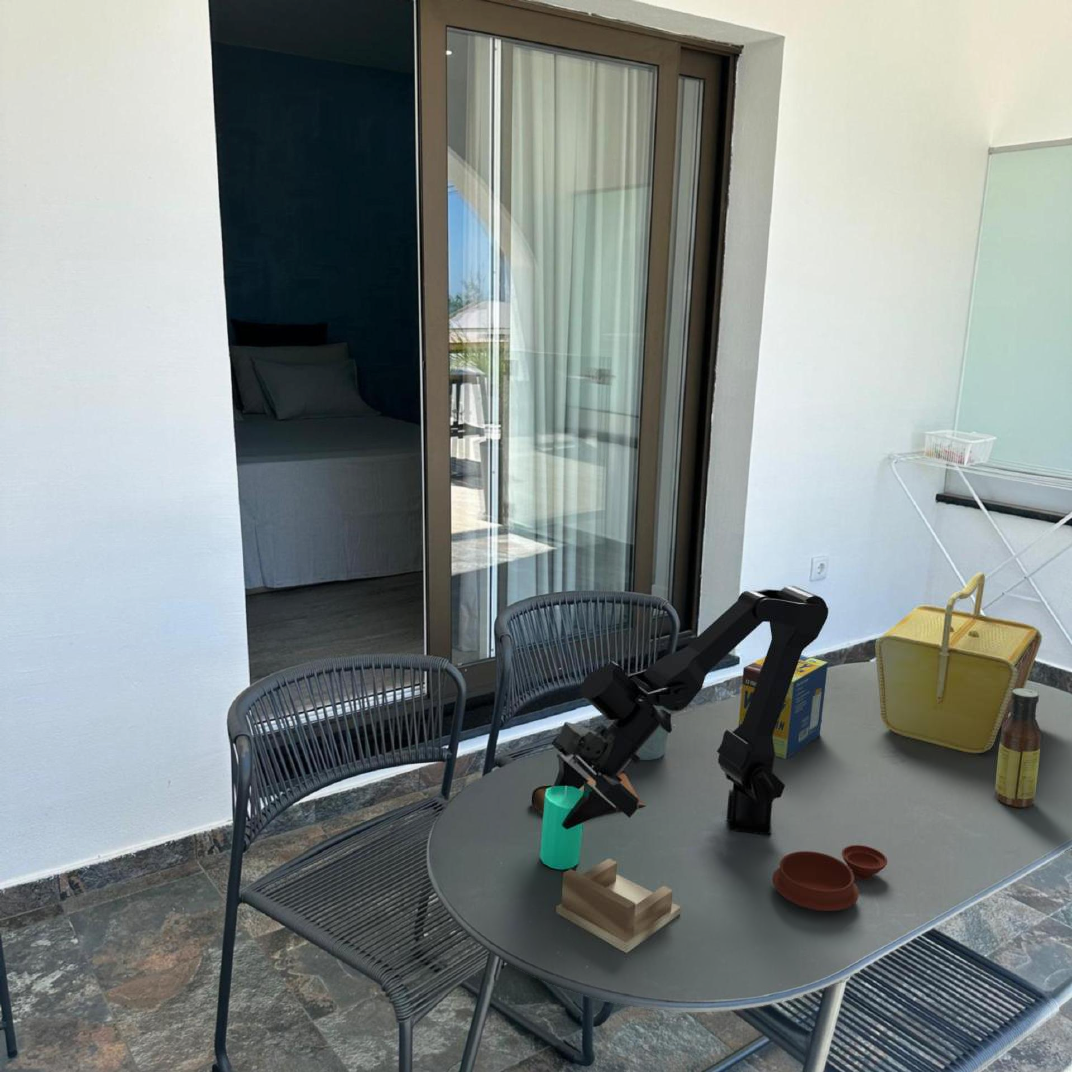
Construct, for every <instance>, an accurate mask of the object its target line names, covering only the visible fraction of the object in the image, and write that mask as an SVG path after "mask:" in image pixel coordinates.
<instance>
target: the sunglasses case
mask: <svg viewBox="0 0 1072 1072" xmlns="http://www.w3.org/2000/svg"><path fill="white" fill-rule="evenodd" d="M625 772H626V771H625V770H624V769H623V770H622V771H621V772H620V773H619V775H618V777H620V778H621V779H622V781H621V782H620V783H621V784H622V785H623V786H625V787H626V788H627V789H628V790H629V791H630V792H631V793H632V794H633V795H634V796H635V797H637V798H638V799H639V807H638V808H642V807H646V804H645V803H644V802H642V801H641V799H640V798H639V795H638V794H637V792H636V790H635V788H634V787H633V786H632V783H631V782H630V780H629V778H628V777H627V775H626V773H625ZM585 778H586V779H587V780H588V781H589V782H587V783H588V784H589V785H590V786H592V787H594V786H595V784H596V781H595V780H593V779H592V778H591V777H590V776H589V777H585ZM552 786H554V784H546V785H541V786H538V787H536V788H535V789H533V791H532V793H531V805H534V806H535V807H536V808H537V809H538V810H539V811H541V812H542V813H543V814H544V802H545V794H546V789H547V788H550V787H552ZM580 790H581V791H582V792H583V791H584V786H582V787H581V788H580ZM534 806H533V807H534ZM535 807H534V808H535ZM536 808H535V809H536ZM615 808H616V809H617V810H618V811H621V810H620V809H619V808H617V807H615ZM537 809H536V810H537ZM538 810H537V811H538ZM539 811H538V812H539ZM618 811H617V812H618ZM541 812H540V813H541ZM542 813H541V814H542ZM611 813H614V812H613V811H612V812H611ZM543 814H542V815H543Z"/></svg>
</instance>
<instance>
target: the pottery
mask: <svg viewBox="0 0 1072 1072" xmlns="http://www.w3.org/2000/svg"><path fill="white" fill-rule="evenodd" d="M841 856H842V858H843V861H844V862H843V861H841V860H840V859H838V858H837V857H834V856H832V855H829V854H825V853H822V852H817V851H805V850H804V851H803V850H801V851H800V850H799V851H794V852H791V853H788V854H786V855H785V856H783V857H782V858H781V860H780V862H779V867H778V868H777V869H776V870H775V871H774V872H773V874H772V884H773V886H774V888H775V889H776V891H777V892H778V893H779V894H780V895H781V896H782V897H784V898H785V899H786V900H788V901H790V902H792V903H794V904H796V905H797V906H800V907H803V908H806V909H812V910H815V911H816V910H817V911H824V912H827V911H828V912H836V911H841V910H845V909H848V908H850V907H852V906H853V905H854V904H855V903H856V902H857V901H858V899H859V890H858V886H857V885H856V883H855V878H857V879H859V880H863V881H867V880H872V879H873V878H874V875H877V874H878V873H880V872H881V871H882V870H884V868H885V867H886V866H887V864H888V858H887V856H886V855H885V854H884V853H882V852H881V851H880V850H877V849H876V848H873V847H870V846H866V845H861V844H853V845H847V846H846V847H844V848H842V850H841Z"/></svg>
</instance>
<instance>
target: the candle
mask: <svg viewBox="0 0 1072 1072" xmlns="http://www.w3.org/2000/svg"><path fill="white" fill-rule="evenodd" d="M582 795H583V792H582V791H581V790H580V789H577V788H575V787H573V786H552V787H550V788H547V789H546V794H545V802H544V814H542V827H541V828H542V829H541V839H540V841H541V842H540V851H539V858H540V860H541V861H542V863H543V864H544V865H546V866H548V867H550V868H552V869H557V870H561V871H562V870H567V869H568V870H569V869H573V868H574V867H575V866H576V865H578V864H579V863H580V858H581V857H580V855H581V846H582V835H583V827H584V826H583V824H584V822H583V823H581V824H578V825H576V826H574V827H572V828H569V829H565V828H564V827H563V826H562V823H563V822H564V820H565V818H566V817H567V815H568V814H569V813H570V811H571V810H572V809H573V807H574V806H575V805H576V803H577V802H578V801H579V799H580V798H581V797H582Z"/></svg>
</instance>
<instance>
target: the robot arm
mask: <svg viewBox="0 0 1072 1072" xmlns="http://www.w3.org/2000/svg"><path fill="white" fill-rule="evenodd" d="M828 615H829V607H828V606H827V603H826V601H825V600H824V598H823V597H821V596H819V595H817V594H814V593H811V592H809V591H806V590H804V589H803V588H800V587H798V586H795V585H788V586H784V587H783V588H782V589H767V588H765V589H761V590H751V589H750V590H749V589H748V590H744V591H743V592H742V593H740V595H739V596H738V598H737V600H736V601H735V602H734V603H733V604H732V605H731V606H730V607H728V608H727V610H726V611H724V613H722V614H721V615H720V616H719V617H718V618H717V619H716V620H714V622H712V623H711V624H710V625H709V626H708V627H706V629H704V630H703V631H702V632H701V633H700V634H699V635H698V636H697V637H696V638H695V639H694V640H692V641H691V642H690V643H689V644H688V645H687V646H685V647H684V648H682V649H680V650H678V651H675V652H671V653H669V654H666V655H664V656H662V657H661V658H660V659H658V660H657V661H655V662H654V663H652V664H651V665H649V666H648V668H646V669H642V670H640V671H637V672H633V673H632V672H631V673H630V674H627V673H626V671H625V670H624V669H623V667H621V666H620V665H619V664H618V663H616V662H615V661H613V660H612V661H611V660H610V662H609V663H608V664H607V665H606V666H600V667H598V668H596V669H594V670H593V671H592V672H591V671H590V672H589V673H588V674H587V675H586V676H585V678H584V680H583V681H582V683H581V687H580V695H581V696H582V697H583V698H584V699H585V700H586V701H587V702H588V703H589V704H590V705H592V707H593V708H595V709H596V710H597V711H598V712H599V713H600V714H602V715H603V717H605V718H606V719H607V720H610V721H611V723H609V724H608V726H607V727H606V726H604V725H603V724H601V725H598V726H597V727H595V729H594V730H591V729H589V728H587V727H584V726H581V725H579V724H574V723H572V722H568V721H565V722H564V723H563V725H562V728H561V730H560V732H559V734H558V735H557V736H556V737H555V738H554V739H553V740H552V741H551V743H550V744H551V745H552V746H553V747H554V748H555V749H556V750H557V751H559V752H561V755H560V754H559V753H556V758H557V761H558V773H557V776H556V779H555V781H554V784H553V785H554V786H573V787H575V788H577V789H580V788H581V787H582V786H584V791H583V795H582V797H581V798H580V799H579V801H578V802H577V803H576V805H575V806H574V807H573V809H572V810H571V811H570V813H569V814H568V815H567V817H566V818H565V820H564V822H563V823H562V826H563V827H564V828H565V829H569V828H572V827H574V826H576V825H578V824H581V823H583V824H584V823H585V822H587V821H589V820H592V819H594V818H597V817H600V816H602V815H603V816H604V815H605V814H606V815H607V814H610V813H615V814H616V813H618V810H617V809H616V808H615V807H617V808H619V809H620V810H619V811H620V812H622V813H623V814H624V815H625V816H627V818H629V819H631V818H632V816H633V815H634V814H635V813H636V812H637V810H638V809H639V808H640V807H639V799H640V798H639V799H638V798H637V797H635V796H634V795H633V794H632V793H631V792H630V791H629V790H628V789H627V788H626V787H625V786H623V785H622V784H621V783H620V782H621V781H622V779H621V778H620V777H618V775H619V773H620V772H621V771H622V770H623V771H624V769H625V768H626V766H628V765H629V763H630V761H632V762H633V763H634V764H637V763H638V762H639V761H640V760H639V759H640V758H639V757H638V756H637V755H636V753H637V752H638V751H639V750H640V749H641V747H642V746H643V745H644V744H645V743H646V742H647V740H648V739H649V738H650V737H651V736H652V734H653V733H654V732H655V731H656V730H657V729H658V727H659V726H660V727H661V728H663V729H664V730H665V731H667V732H668V734H669V733H671V732H672V730H673V729H672V720H671V719H672V714H671V713H668V712H667V711H666V710H664V709H662V710H658V709H657V708H656V707H655V706H663V707H664V708H665V709H667V710H670V711H671V712H673V711H675V712H676V711H677V712H680V711H682V710H684V709H686V708H687V707H688V706H689V705H690V704H691V702H692V701H693V700H694V699H695V698H696V697H697V695H698V694H699V692H701V691H702V689H703V686H704V681H705V679H706V676H707V675H708V673H709V672H710V671H711V670H712V669H714V667H716V665H718V664H719V663H720V662H721V661H722V660H723V659H724V658H725V657H726V656H727V655H728V654H730V653H731V652H732V651H733V650H734V649H735V648H736V647H737V646H739V645H740V643H741V642H743V640H745V639H746V638H747V637H749V635H750V634H751V633H752V632H754V630H756V629H757V628H758V627H759V626H760V625H761V624H763V623H764V622H766V623H769V626H770V628H769V629H770V635H771V641H770V644H769V645H768V649H767V652H766V655H765V656H766V657H765V656H764V657H765V660H764V663H763V666H762V669H761V672H760V675H759V677H758V680H757V683H756V686H755V689H754V692H753V695H752V697H751V700H750V703H749V706H748V709H747V712H746V714H745V717H744V720H743V722H742V724H741V725H740V726H739V725H738V727H736V728H735V729H734V730H733V731H732V730H729V729H726V730H725V731H724V733H723V737H722V741H721V744H720V746H719V747H718V749H717V750H716V753H718V759H717V763H718V764H719V767H720V769H721V770H722V771H723V772H724V774H725V778H726V779H727V780H728V781H730V782H731V783H733V784H732V789H729V790H728V798H727V799H728V800H727V812H726V820H727V821H729V822H728V828H729V830H732V831H740V832H747V833H753V834H761V835H771V833H772V825H771V824H772V811H773V810H772V809H773V802H774V800H775V799H779V798H781V797H782V795H783V793H784V790H785V786H786V784H785V783H784V782H783V781H782V780H781V779H780V778H778V776H777V775H776V774H775V773H774V772H773V769H774V764H775V759H776V755H775V750H774V743H773V732H774V730H775V727H776V724H777V721H778V718H779V715H780V713H781V710H782V707H783V704H784V701H785V699H786V696H787V693H788V690H789V687H790V684H791V682H792V679H793V676H794V673H795V670H796V667H797V665H798V662H799V659H800V656H801V655H802V653H803V651H804V650H805V649H806V648H807V647H808V646H809V645H811V644H812V643H813V642H815V640H817V639H818V638H819V636H820V634H821V631H822V630H823V627H824V625H825V623H826V621H827V619H828ZM640 697H643V698H644V699H646V700H647V701H646V700H642V701H639V699H640ZM584 772H585V773H586V774H587V775H589V777H591V778H592V779H593V780H595V781H596V784H595V786H594V787H592V786H590V785H589V784H588V783H587V782H589V781H588V780H587V779H586V778H587V777H585V775H583V773H584ZM612 811H614V812H612ZM609 812H610V813H609Z"/></svg>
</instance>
